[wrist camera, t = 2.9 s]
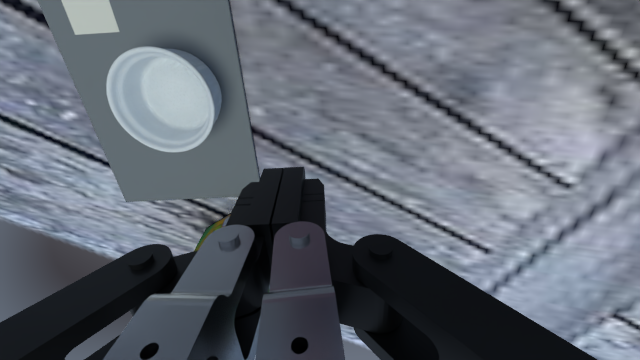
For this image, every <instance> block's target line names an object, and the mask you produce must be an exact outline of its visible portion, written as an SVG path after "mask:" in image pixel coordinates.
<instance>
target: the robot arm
mask: <svg viewBox="0 0 640 360" xmlns="http://www.w3.org/2000/svg"><path fill="white" fill-rule="evenodd" d="M269 285H270V288H269ZM268 291H269V292H268ZM128 311H130V312H131V314H132V316H133V318H132V319H131V321H130V322H129V323H128V325H127V327H126V328H125V329H124V330H123V332H122V333H121V334H120V335H119V336H117V337H116V338H115V339H113V340H112V341H110V342H109V343H108V344H107V345H105V346H103V347H102V348H101V349H99V350H98V351H96V352H95V353H93V354H92V355H91V356H89V357H88V358H86V359H84V360H254V359H255V356H256V359H255V360H345V356H344V349H343V343H342V336H341V329H340V324H344V325H347V326H351V327H354V330H355V333H356V334H357V336H358V337H359V338H360V339H361V340H362V341H363V342H364V343H365V344H366V345H367V346H368V347H369V348H370V349H371V350H372V351H373V352H374V353H375V354H376V355H377V356H378V357H379V358H380V359H381V360H597V359H595V358H594V357H592V356H590V355H589V354H587V353H585V352H584V351H582V350H580V349H579V348H577V347H575V346H574V345H572V344H570V343H569V342H567V341H566V340H564V339H562V338H561V337H559V336H557V335H556V334H554V333H552V332H551V331H549V330H547V329H546V328H544V327H542V326H541V325H539V324H537V323H536V322H534V321H532V320H531V319H529V318H527V317H526V316H524V315H522V314H521V313H519V312H517V311H516V310H514V309H512V308H511V307H509V306H507V305H506V304H504V303H502V302H501V301H499V300H497V299H496V298H494V297H492V296H491V295H489V294H487V293H486V292H484V291H482V290H481V289H479V288H478V287H476V286H474V285H473V284H471V283H469V282H468V281H466V280H464V279H463V278H461V277H459V276H458V275H456V274H454V273H453V272H451V271H449V270H448V269H446V268H444V267H443V266H441V265H439V264H438V263H436V262H434V261H433V260H431V259H429V258H428V257H426V256H424V255H423V254H421V253H419V252H418V251H416V250H414V249H413V248H411V247H409V246H408V245H406V244H404V243H403V242H401V241H399V240H398V239H396V238H394V237H391V236H387V235H381V234H374V235H368V236H365V237H363V238H361V239H359V240H358V241H357V242H356V243H355V245H354V246H353V245H348V244H343V243H340V242H338V241H336V240H334V239H332V238H331V237H330V236H329V235H328V234H327V232H326V211H325V195H324V185H323V184H322V182H321V181H320V180H319V179H305V169H304V167H290V168H272V169H264V170H263V173H262V175H261V178H260V181H259V182H250V183H249V184H248V185H247V186H246V187H244V188H243V189H242V191H241V193H240V195H239V197H238V199H237V202H236V204H235V206H234V208H233V210H232V213H231V215H230V217H229V219H228V221H227V224H226V226H225V227H222V228H219V229H217V230H215V231H214V232H212V233H211V234H210V235H209V236H207V238H206V239H205V240H204V242H203V243H202V245H201V247H200V248H199V250H197V251H194V252H190V253H187V254H183V255H179V256H175V257H173V255H172V252H171V250H170V248H169V247H167V246H165V245H161V244H152V245H147V246H143V247H140V248H137V249H135V250H133V251H131V252H129V253H127V254H125V255H124V256H122V257H120V258H118V259H116V260H114V261H113V262H111V263H109V264H107V265H105V266H103V267H102V268H100V269H98V270H96V271H94V272H92V273H91V274H89V275H87V276H85V277H83V278H81V279H80V280H78V281H76V282H74V283H72V284H70V285H69V286H67V287H65V288H63V289H61V290H60V291H57V292H56V293H54V294H52V295H50V296H48V297H46V298H45V299H43V300H41V301H39V302H37V303H36V304H34V305H32V306H30V307H28V308H26V309H24V310H23V311H21V312H19V313H17V314H15V315H13V316H12V317H10V318H8V319H6V320H4V321H2V322H1V323H0V360H65V359H64V358H65V357H66V355H67V354H68V353H69V352H70V351H71V350H72V349H73V348H74V347H76V346H78V345H79V344H81V343H82V342H84V341H85V340H87V339H88V338H90V337H91V336H92V335H94V334H95V333H97V332H98V331H100V330H101V329H103V328H104V327H106V326H107V325H109V324H110V323H112V322H113V321H114V320H116V319H118V318H119V317H121V316H122V315H124V314H125V313H127V312H128Z"/></svg>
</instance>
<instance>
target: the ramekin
mask: <svg viewBox="0 0 640 360" xmlns="http://www.w3.org/2000/svg"><path fill="white" fill-rule="evenodd" d="M106 92H107V98H108V102H109V105H110V108H111V110H112V112H113V114H114V116H115V118H116V119H117V121H118V122H119V123H120V125H121V126H122V127H123V128H124V129H125V130H126V131H127V132H128V133H129V134H130V135H131V136H132V137H133V138H135V139H136V140H138V141H139V142H141V143H143V144H144V145H146V146H148V147H151V148H153V149H156V150H159V151H164V152H184V151H188V150H191V149H193V148H195V147H197V146H199V145H200V144H201V143H202V142H203V141H204V140H205V139H206V138H207V137H208V135H209V134H210V132H211V130H212V127H213V125H214V123H215V121H216V120H217V118H218V115H219V113H220V109H221V103H222V94H221V89H220V86H219V83H218V81H217V80H216V77H215V76H214V74H213V73H212V71H211V70H210V69H209V67H208V66H207V65H205V64H204V62H202V61H201V60H200V59H198V58H197V57H195V56H193V55H192V54H190V53H187V52H185V51H181V50H176V49H163V48H159V47H151V46H144V47H137V48H133V49H130V50H128V51H126V52H124V53H123V54H121V55H120V56H119V57H118V58H117V59H116V60H115V61H114V62H113V64H112V66H111V68H110V69H109V73H108V76H107V83H106Z"/></svg>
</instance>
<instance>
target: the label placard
mask: <svg viewBox="0 0 640 360" xmlns="http://www.w3.org/2000/svg"><path fill="white" fill-rule="evenodd" d="M38 2H39V5H40V7H41V9H42V11H43V14H44V16H45V18H46V21H47V23H48V25H49V27H50V30H51V32H52V34H53V36H54V39H55V41H56V43H57V46H58V48H59V50H60V52H61V55H62V57H63V59H64V62H65V64H66V66H67V68H68V71H69V73H70V75H71V77H72V80H73V82H74V84H75V87H76V89H77V91H78V93H79V96H80V98H81V100H82V103H83V105H84V107H85V109H86V112H87V114H88V116H89V118H90V121H91V123H92V125H93V128H94V130H95V132H96V134H97V137H98V139H99V141H100V144H101V146H102V148H103V150H104V153H105V155H106V157H107V159H108V162H109V164H110V166H111V169H112V171H113V173H114V175H115V178H116V180H117V182H118V185H119V187H120V189H121V191H122V194H123V196H124V198H125V200H126V202H134V201H155V200H176V199H197V198H218V197H239V195H240V193H241V191H242V189H243V188H244V187H246V186H247V185H248V184H249V183H250V182H259V181H260V176H259V170H258V164H257V159H256V153H255V147H254V141H253V136H252V130H251V124H250V118H249V112H248V107H247V101H246V95H245V89H244V84H243V78H242V72H241V66H240V61H239V55H238V49H237V43H236V38H235V32H234V26H233V20H232V15H231V9H230V3H229V0H38ZM144 46H151V47H159V48H163V49H176V50H181V51H185V52H187V53H190V54H192V55H193V56H195V57H197V58H198V59H200V60H201V61H202V62H204V64H205V65H207V66H208V67H209V69H210V70H211V71H212V73H213V74H214V76H215V77H216V80H217V81H218V83H219V86H220V89H221V94H222V103H221V109H220V113H219V115H218V118H217V120H216V121H215V123H214V125H213V127H212V130H211V132H210V134H209V135H208V137H207V138H206V139H205V140H204V141H203V142H202V143H201V144H200V145H199V146H197V147H195V148H193V149H191V150H188V151H184V152H164V151H159V150H156V149H153V148H151V147H148V146H146V145H144V144H143V143H141V142H139V141H138V140H136V139H135V138H133V137H132V136H131V135H130V134H129V133H128V132H127V131H126V130H125V129H124V128H123V127H122V126H121V125H120V123H119V122H118V121H117V119H116V118H115V116H114V114H113V112H112V110H111V108H110V105H109V102H108V98H107V92H106V83H107V76H108V73H109V69H110V68H111V66H112V64H113V62H114V61H115V60H116V59H117V58H118V57H119V56H120V55H121V54H123V53H124V52H126V51H128V50H130V49H133V48H137V47H144Z"/></svg>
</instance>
